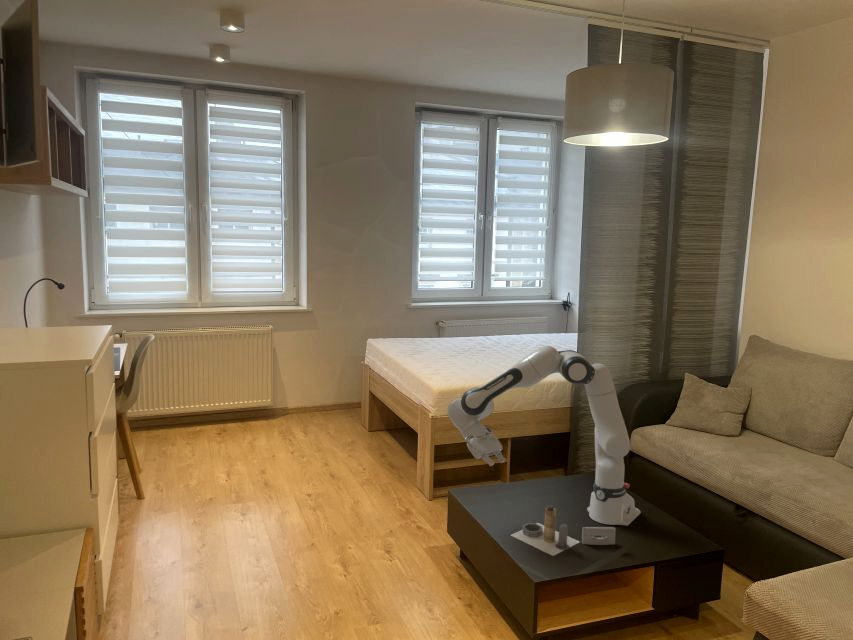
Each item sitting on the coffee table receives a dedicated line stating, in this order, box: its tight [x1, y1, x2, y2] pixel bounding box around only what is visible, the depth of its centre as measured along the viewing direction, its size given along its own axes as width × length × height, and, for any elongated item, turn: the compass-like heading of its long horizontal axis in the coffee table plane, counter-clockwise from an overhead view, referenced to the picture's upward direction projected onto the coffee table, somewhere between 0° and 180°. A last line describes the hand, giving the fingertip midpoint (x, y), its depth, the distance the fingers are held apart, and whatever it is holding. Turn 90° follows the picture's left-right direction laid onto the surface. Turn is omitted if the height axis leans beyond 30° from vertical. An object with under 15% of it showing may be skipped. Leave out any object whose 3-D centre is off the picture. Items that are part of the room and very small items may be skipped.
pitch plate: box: [510, 522, 581, 557], centre depth 239 cm, size 16×20×10 cm
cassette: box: [581, 526, 617, 546], centre depth 236 cm, size 12×2×8 cm, turn 90°
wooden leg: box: [543, 505, 557, 543], centre depth 237 cm, size 4×4×13 cm
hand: (497, 463), depth 249 cm, fingers open, 8 cm apart
